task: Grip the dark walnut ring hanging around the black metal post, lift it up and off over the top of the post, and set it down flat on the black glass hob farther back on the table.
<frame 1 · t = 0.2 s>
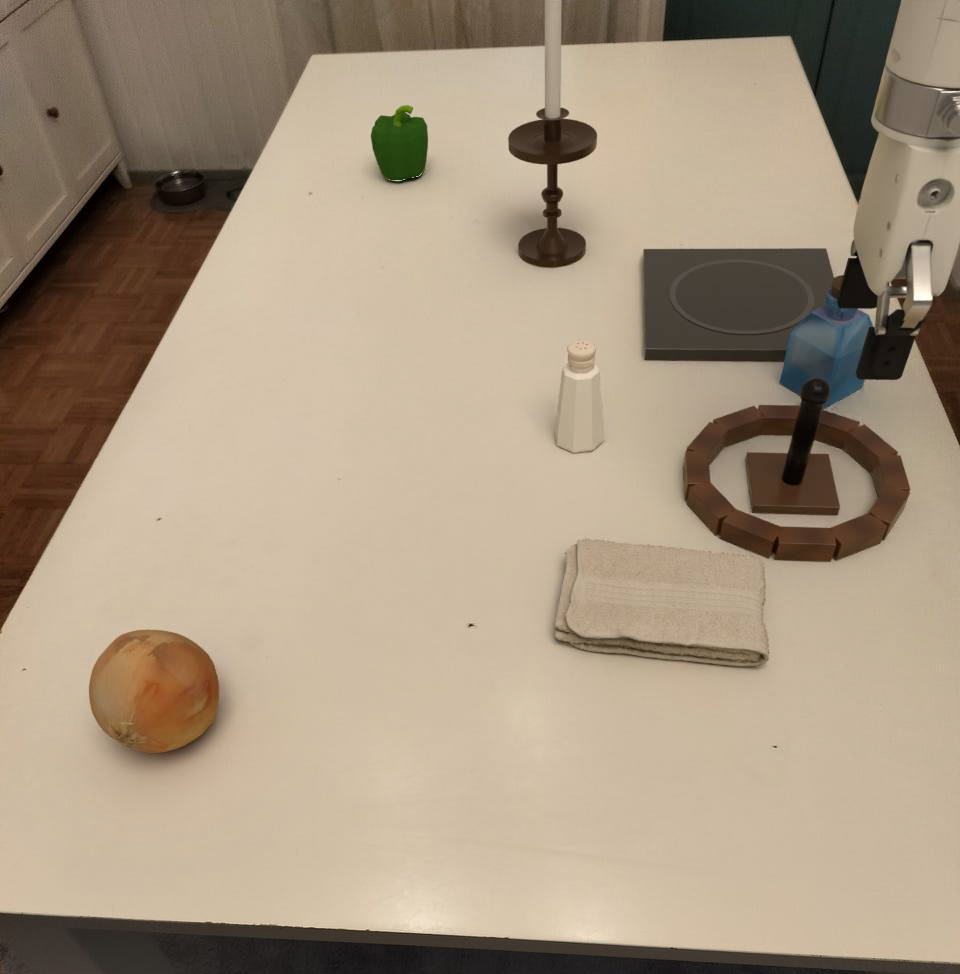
hand: (866, 340, 71), 20 cm above the table, tool pointing down, fingers open, 9 cm apart
hob: (738, 307, 111), on the table
bell pepper: (403, 177, 140), on the table
candlestick: (552, 251, 123), on the table
post: (790, 486, 90), on the table
onion: (175, 726, 76), on the table
ring: (790, 486, 90), on the table
pepper shaker: (578, 439, 97), on the table
perfume bottle: (820, 387, 100), on the table
washcloth: (659, 611, 81), on the table
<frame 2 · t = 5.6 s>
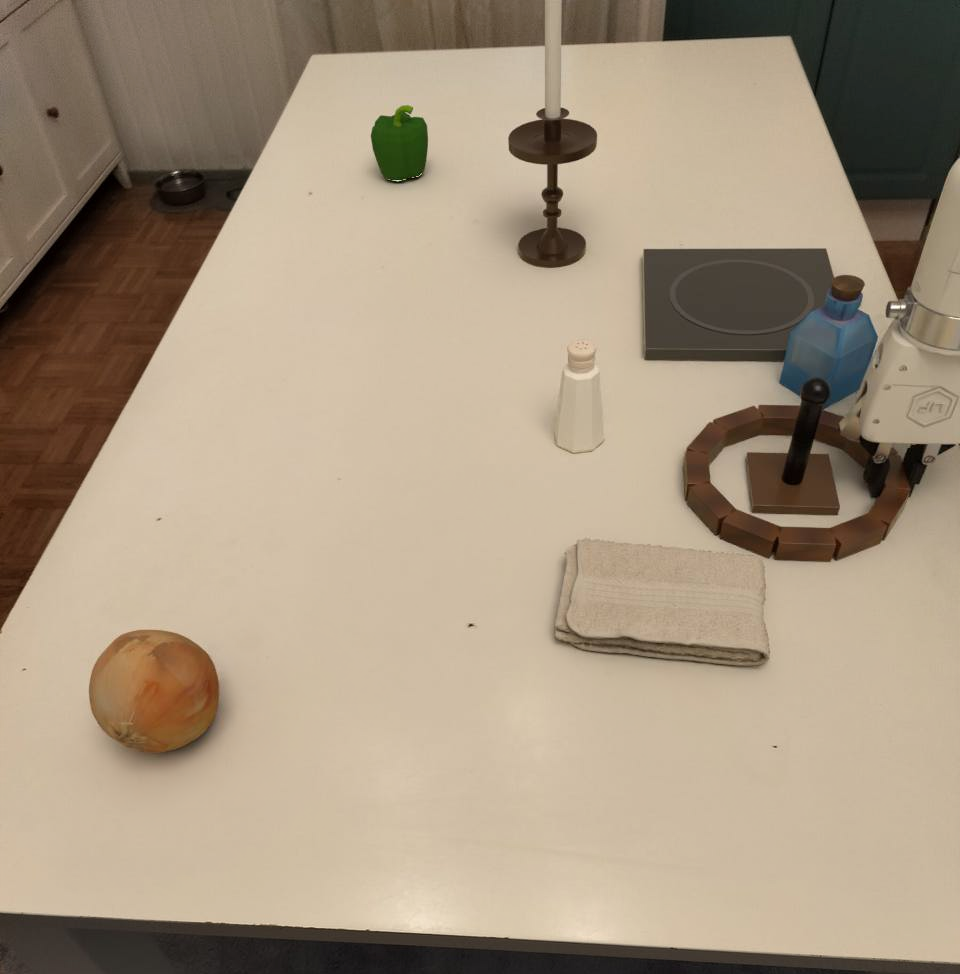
hand: (888, 486, 89), 0 cm above the table, tool pointing down, fingers closed on ring, 2 cm apart
ring: (790, 486, 90), on the table, touching gripper
everything else where it was.
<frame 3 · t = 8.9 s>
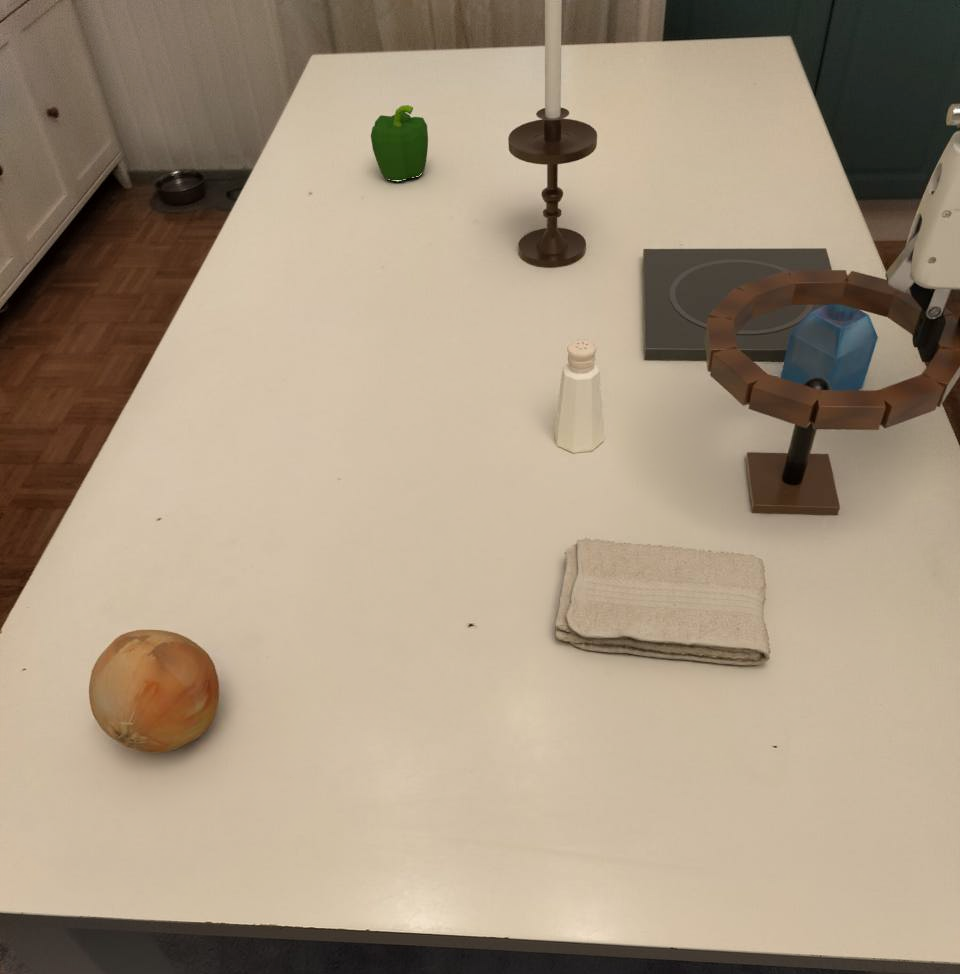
hand: (941, 351, 77), 15 cm above the table, tool pointing down, fingers closed on ring
ring: (827, 355, 79), point 15 cm above the table, touching gripper
everything else where it was.
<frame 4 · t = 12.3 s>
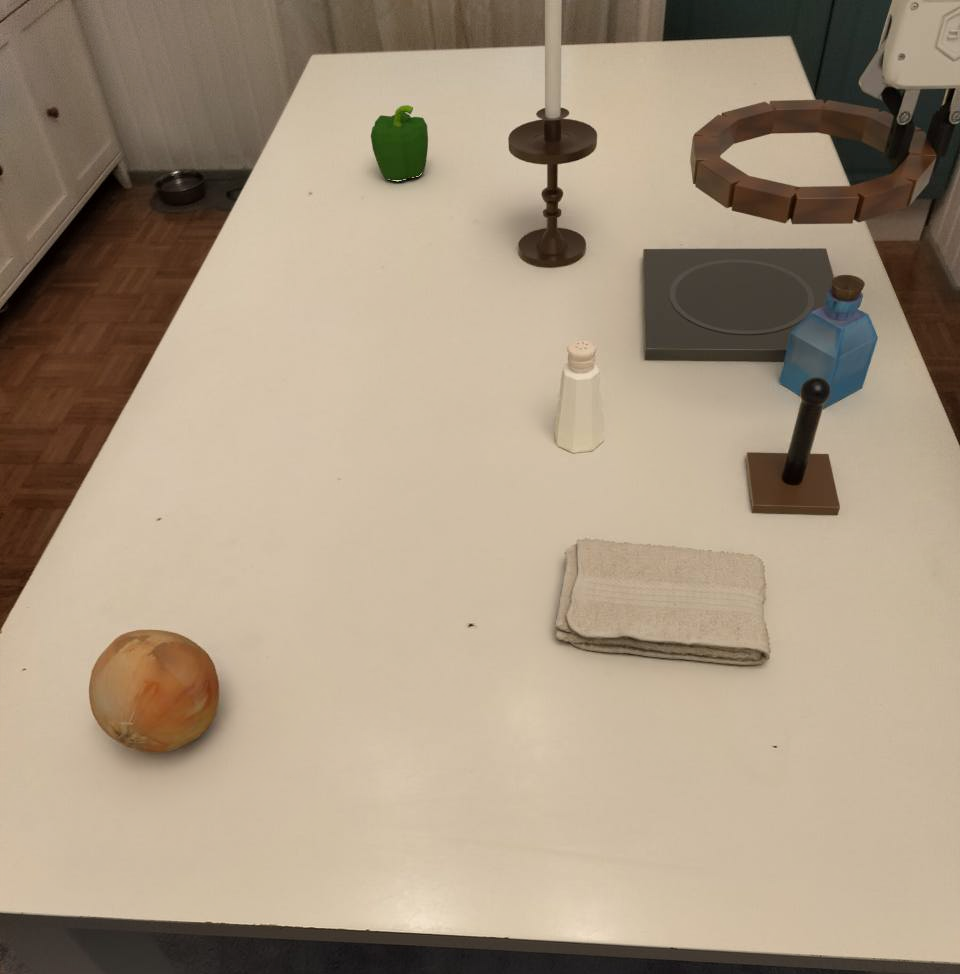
hand: (911, 164, 82), 23 cm above the table, tool pointing down, fingers closed on ring
ring: (805, 170, 84), point 23 cm above the table, touching gripper
everything else where it was.
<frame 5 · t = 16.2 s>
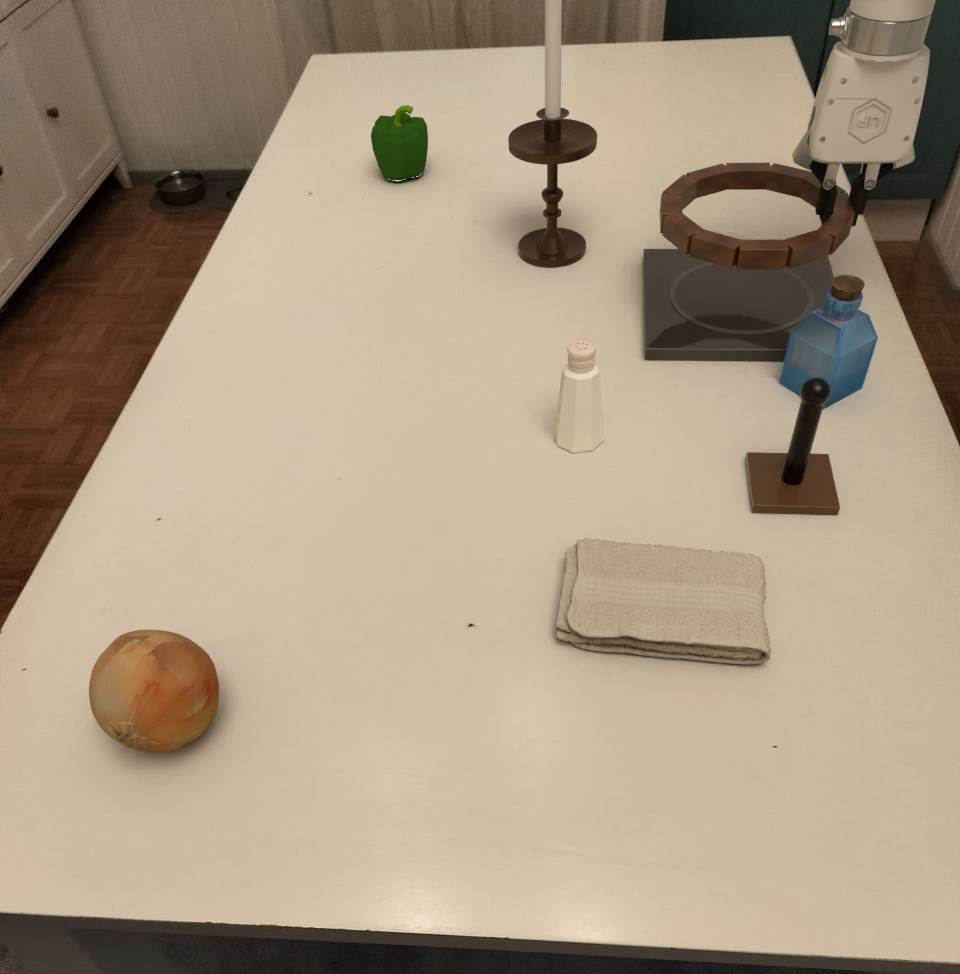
hand: (837, 219, 102), 11 cm above the table, tool pointing down, fingers closed on ring
ring: (752, 222, 103), point 10 cm above the table, touching gripper
everything else where it was.
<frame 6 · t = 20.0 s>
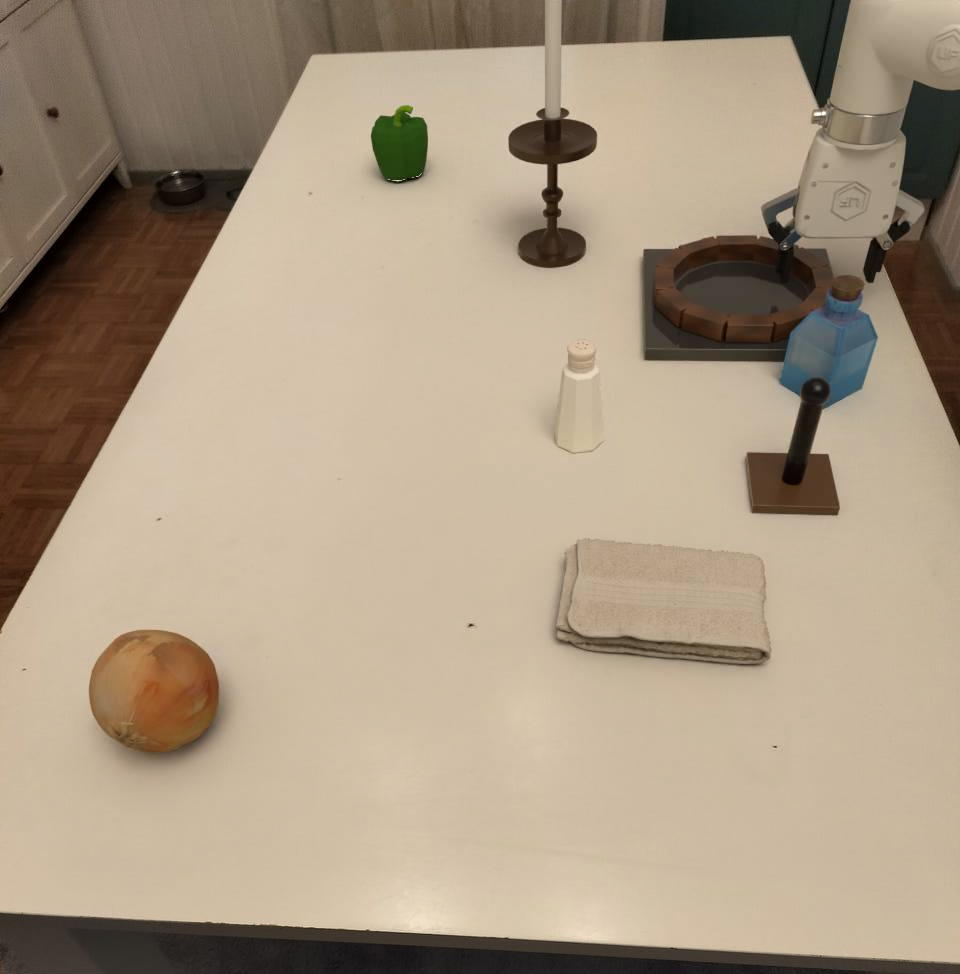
hand: (825, 277, 107), 4 cm above the table, tool pointing down, fingers open, 9 cm apart
ring: (740, 294, 110), point 2 cm above the table, touching hob
everything else where it was.
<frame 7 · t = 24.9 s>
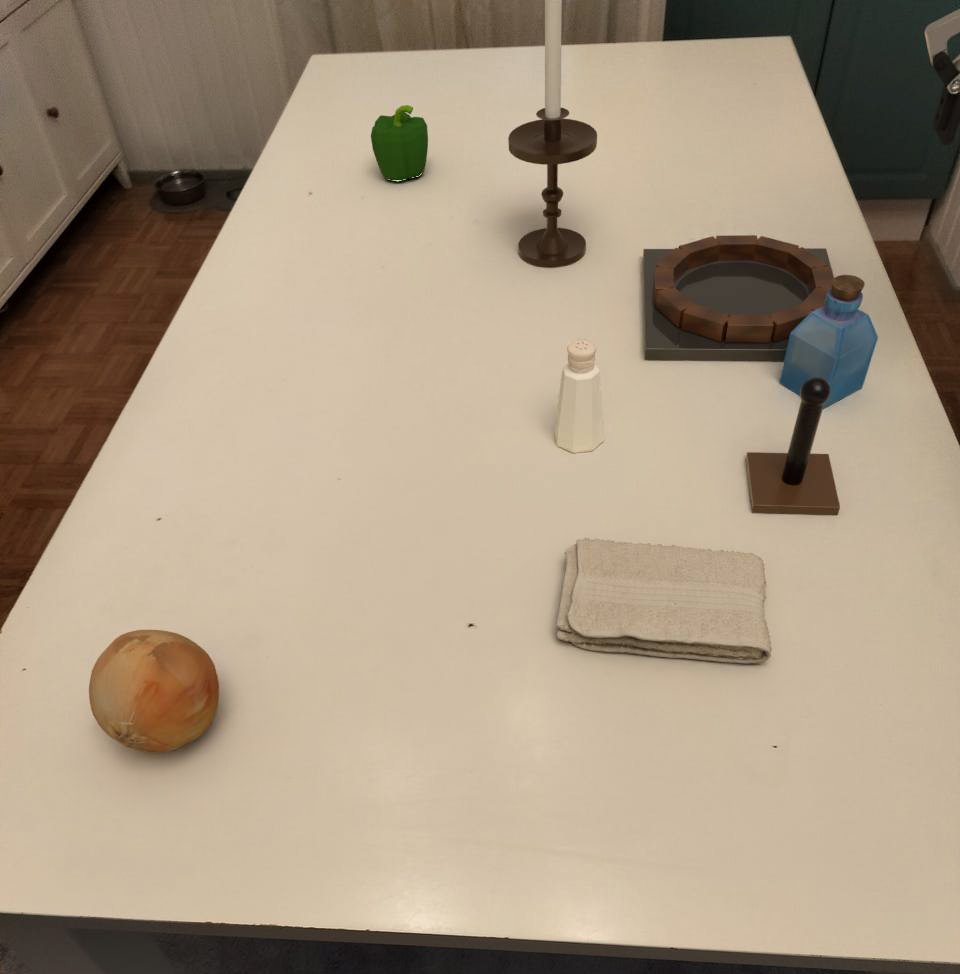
nothing on the table moved.
at the end: ring inside the target area on the hob (0.1 cm from its centre), point 1.6 cm above the hob's base; ring moved 33.2 cm from its start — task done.
